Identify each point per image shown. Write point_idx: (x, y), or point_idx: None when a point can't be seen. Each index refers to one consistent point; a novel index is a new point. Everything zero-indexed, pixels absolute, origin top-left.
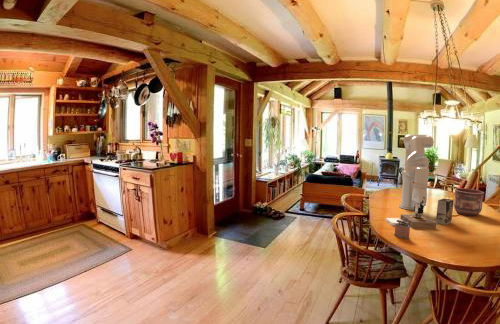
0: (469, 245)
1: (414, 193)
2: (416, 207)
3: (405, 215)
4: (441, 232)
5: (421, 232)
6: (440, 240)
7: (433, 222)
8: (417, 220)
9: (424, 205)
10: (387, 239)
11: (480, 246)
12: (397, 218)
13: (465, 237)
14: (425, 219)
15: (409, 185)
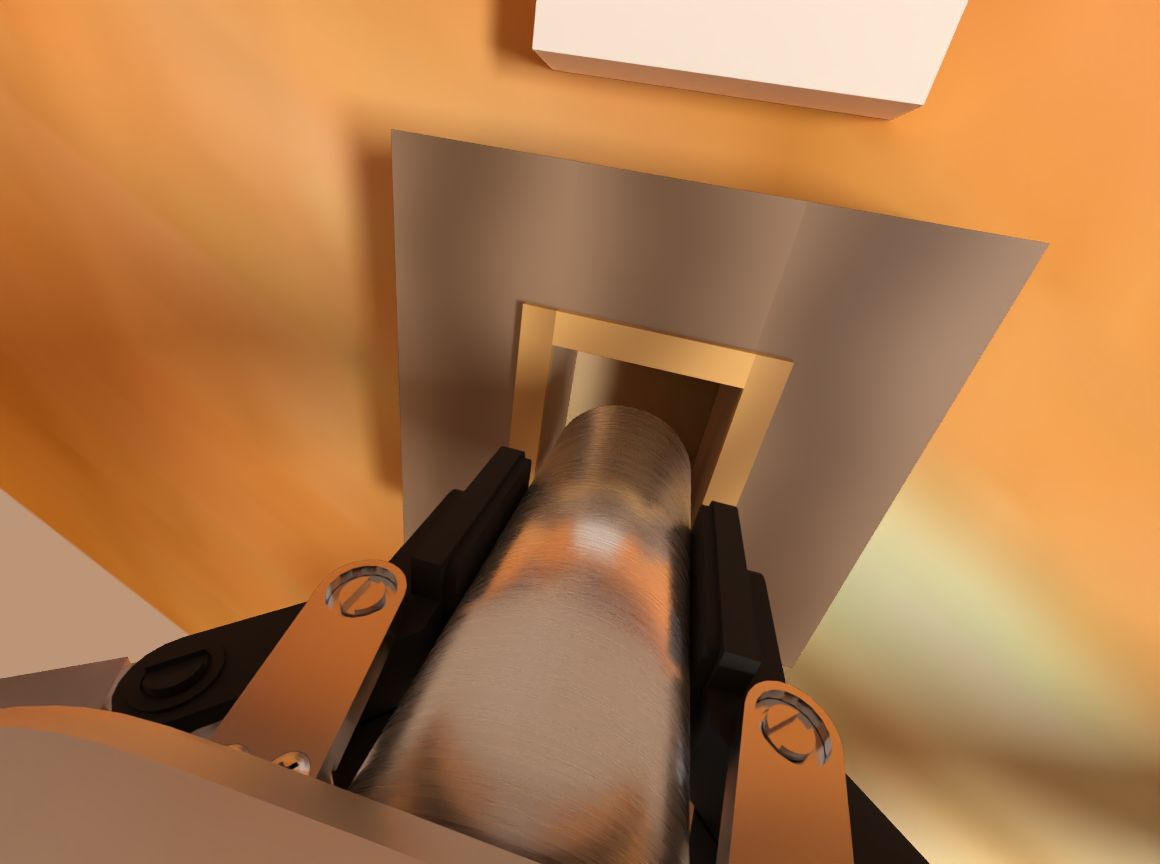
0: (61, 430)
1: None
2: (541, 556)
3: (882, 307)
4: (331, 455)
5: (274, 172)
6: (65, 234)
7: (407, 518)
8: (493, 330)
9: (34, 702)
10: None
11: (80, 495)
12: (923, 36)
13: (247, 554)
14: None
15: None
